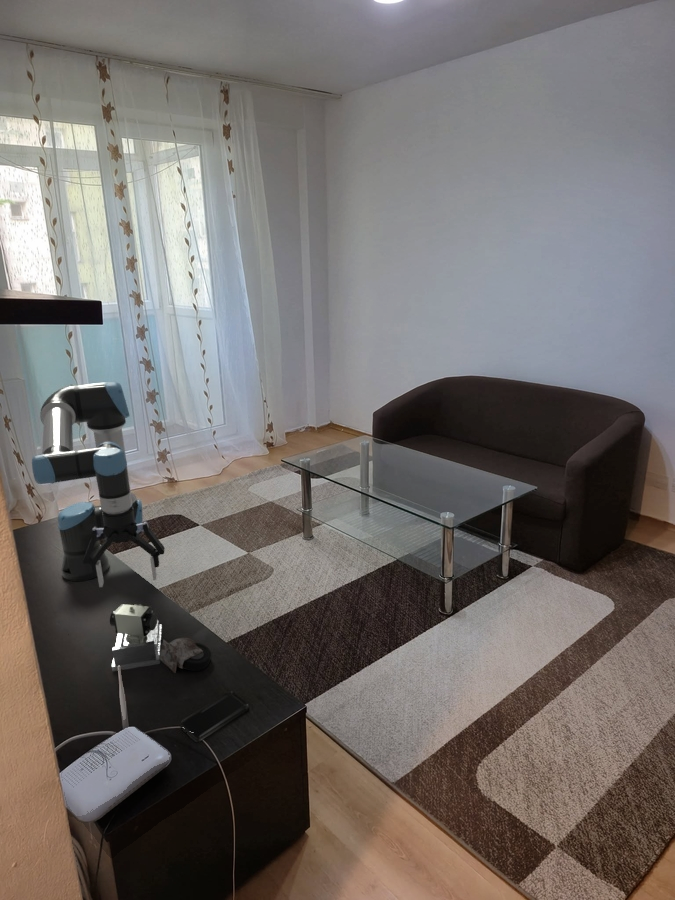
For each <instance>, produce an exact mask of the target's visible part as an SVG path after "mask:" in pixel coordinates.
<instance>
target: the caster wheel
mask: <svg viewBox="0 0 675 900" xmlns="http://www.w3.org/2000/svg"><path fill="white" fill-rule="evenodd" d="M211 652H212V651H211V650H210V649H209V648H208V647H207V646H206V645H205V644H202V643H199V642H194V640H193V639H191V638H189V637H178V638H176V639H174V640H172V641H169V642H167V641H166V639H164V638H163V639H162V643H161V655H160V662H162V663H163V664H165V665H166V667H167V668H168V669H170V670H171V671H172V672H173V673H174V674H176V673H177V667H178V669H179V668H180V669H182V670H186V671H187V670H188V671H192V672H197V671H198V672H200V671H202V670H204V669H206V668H207V667H208V666H209V664H210V661H211V656H212V653H211Z"/></svg>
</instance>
